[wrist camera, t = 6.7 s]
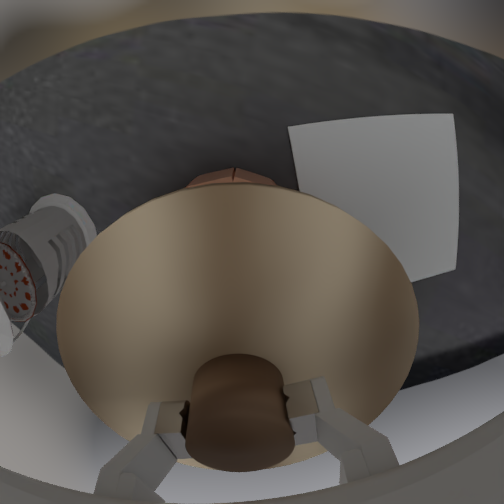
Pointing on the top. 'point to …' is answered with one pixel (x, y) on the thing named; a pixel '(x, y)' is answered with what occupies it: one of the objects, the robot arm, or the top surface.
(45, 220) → the french press
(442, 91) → the top surface
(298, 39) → the top surface
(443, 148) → the mat
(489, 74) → the top surface
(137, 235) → the lid
